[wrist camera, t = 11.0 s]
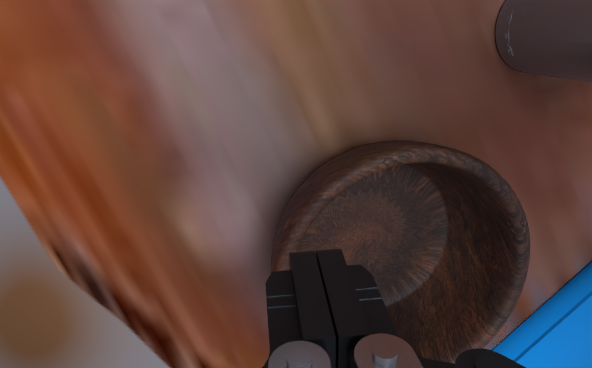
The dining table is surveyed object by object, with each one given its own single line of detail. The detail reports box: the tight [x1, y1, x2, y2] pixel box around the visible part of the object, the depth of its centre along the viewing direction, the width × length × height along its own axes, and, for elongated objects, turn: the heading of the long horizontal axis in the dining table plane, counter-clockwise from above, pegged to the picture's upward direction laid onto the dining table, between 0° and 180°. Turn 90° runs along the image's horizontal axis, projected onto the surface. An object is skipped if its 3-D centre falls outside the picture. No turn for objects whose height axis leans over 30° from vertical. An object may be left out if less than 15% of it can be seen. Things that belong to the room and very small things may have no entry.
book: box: [492, 262, 592, 368], centre depth 62 cm, size 17×4×25 cm
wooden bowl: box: [271, 141, 530, 363], centre depth 48 cm, size 25×25×10 cm
